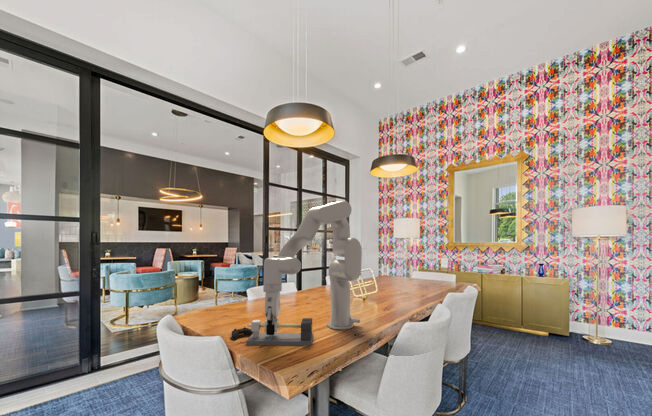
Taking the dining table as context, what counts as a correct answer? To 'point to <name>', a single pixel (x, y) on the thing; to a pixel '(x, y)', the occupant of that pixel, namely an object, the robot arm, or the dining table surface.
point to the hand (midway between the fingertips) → (271, 332)
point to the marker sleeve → (276, 321)
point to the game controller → (241, 332)
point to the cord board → (282, 334)
